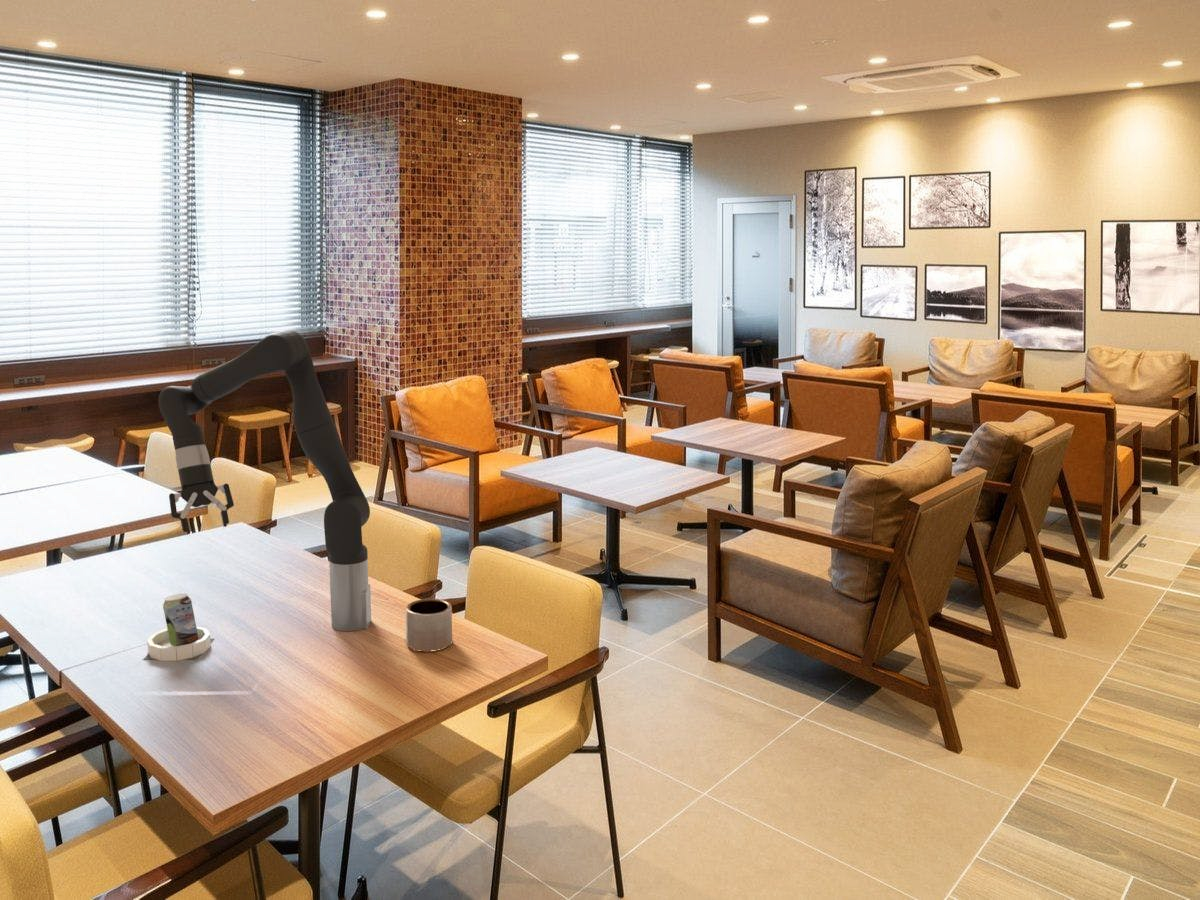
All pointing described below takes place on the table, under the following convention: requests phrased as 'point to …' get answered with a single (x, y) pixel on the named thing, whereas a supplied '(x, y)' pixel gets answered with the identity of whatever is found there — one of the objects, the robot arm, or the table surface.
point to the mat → (183, 659)
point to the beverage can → (180, 620)
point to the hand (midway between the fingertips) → (207, 530)
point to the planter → (428, 624)
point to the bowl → (166, 652)
